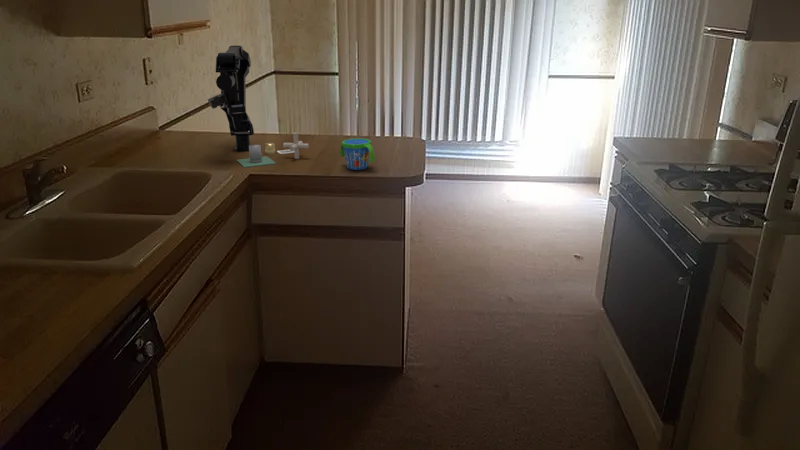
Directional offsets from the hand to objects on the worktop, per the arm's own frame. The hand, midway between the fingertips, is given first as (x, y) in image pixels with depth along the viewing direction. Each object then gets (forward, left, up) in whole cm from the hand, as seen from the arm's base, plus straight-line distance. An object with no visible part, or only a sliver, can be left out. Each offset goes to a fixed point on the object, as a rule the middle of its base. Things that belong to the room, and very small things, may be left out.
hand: (234, 127), depth 240 cm
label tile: (-1, +21, -12) cm, 24 cm away
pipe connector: (+11, +21, -12) cm, 27 cm away
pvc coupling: (+10, +5, -12) cm, 16 cm away
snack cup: (+36, +36, -12) cm, 52 cm away
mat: (+10, +5, -12) cm, 16 cm away
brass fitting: (-2, +14, -12) cm, 19 cm away
